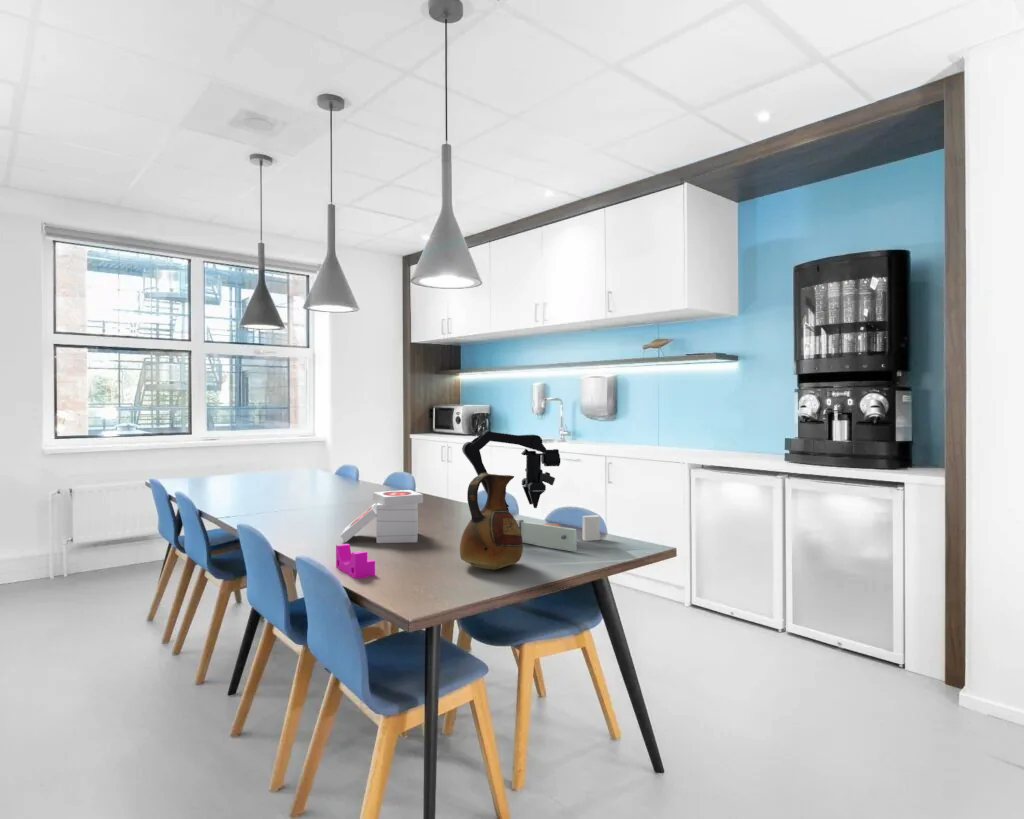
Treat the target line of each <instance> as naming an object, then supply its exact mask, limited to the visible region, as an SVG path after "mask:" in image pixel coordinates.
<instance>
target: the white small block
mask: <svg viewBox="0 0 1024 819" xmlns="http://www.w3.org/2000/svg"><path fill="white" fill-rule="evenodd" d="M514 519H515V520H516V522H517V523H518V526H519V520H520V519H518V518H515V517H514ZM582 540H583V541H584V542H585V541H586V542H587V541H588V542H589V541H590V542H591V541H601V516H600V515H598V514H596V515H595V514H593V515H591V514H590V515H582Z"/></svg>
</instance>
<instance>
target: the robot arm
mask: <svg viewBox="0 0 1024 819" xmlns="http://www.w3.org/2000/svg"><path fill="white" fill-rule="evenodd" d="M490 442H496V443H502V444H511V445H516V446H517V445H518V446H520V447H524V448H525V449H524V450H523V451H522V452H521V455H522V456H526V458H525V459H526V460H525V461H526V462H525V464H526V467H525V469H524V470H525V477H523V479H521V486H522V488H523V491H524V494H525V496H526V498H527V502H528V504H529V505H532V506H533V508H534V509H537V508H538V504H539V502H540V497H541V495H542V494H544V493H545V491H546V489H547V487H546V486H547V485H546V484H545V483H547V484H549V485H550V486H554V484H555V481H556V477H554V476H551V473H550V472H548V471H545V472H543V470H542V465H543V466H544V467H560V465H561V455H560V451H559V449H558V448H553V449H547V448H546V447H545V445H544V444H543V439H542V437H541V436H539V435H538V434H519V435H518V434H517V435H516V434H510V433H504V432H503V433H502V432H494V431H491V430H484V431H483V432H482V433H481V434H480V435H478V436H477V437H476V438H474V439H472V440H471V441H467V442H465V443H464V444H463V445H462V448H461V451H462V454H463V455H464V456H465V458H466V459H467V460H468V461H469V462H470V464H471V465H472V467H473V469H474V471H475V473H476V475H477V476H478V475H480V474H481V473H487V474H489V473H488V472H487V469H486V467H485V465H484V463H483V459H482V458H483V457H482V454H481V449H483V448H484V447H485V446H486V445H487V444H488V443H490ZM528 449H531V450H528ZM539 452H540V453H539ZM541 464H542V465H541ZM480 484H481V485H482V487H483V489H484V491H485V493H486V495H487V496H488V488H487V483H486V481H485V480H483V481H482V482H481V483H480ZM505 504H506V509H507V511H508V512H509V513H510V510H509V507H510V506H509V505H508V503H507V501H506V499H505Z"/></svg>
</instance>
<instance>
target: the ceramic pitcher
mask: <svg viewBox="0 0 1024 819" xmlns="http://www.w3.org/2000/svg"><path fill="white" fill-rule="evenodd" d="M487 473H488V472H487ZM487 473H481V474H480V475H477V476H475V477H474V478H473V479H472V480H471V481H470V483H469V484H468V487H467V494H466V495H467V496H466V497H467V503H468V508H469V511H470V515H471V519H470V520H469V521H468V523H467V525H466V526H465V528H464V530H463V533H462V536H461V539H460V543H459V556H460V559H461V560H462V561H464V562H465V563H467V564H469V565H470V566H473V567H475V568H480V569H484V570H485V569H486V570H494V571H496V570H500V569H502V568H504V567H509V566H511V565H514V564H517V563H518V562H519V561H520V560H521V559H522V556H523V548H524V543H523V542H522V535H521V531H520V528H519V526H518V523H517V522H516V520H515V519H514V518H515V517H514V516H513V514H512V513H511V512H510V511H509V512H508V511H507V509H506V504H505V500H506V495H507V485H508V484H509V483H510V482H511V480H513V479H514V478H515V475H511V474H509V475H508V474H496V473H488V474H487ZM483 480H485V481H486V483H487V488H488V496H487V497H486V502H485V504H484V507H483V508H482V509H481V510H480V507H479V501H478V492H479V488H480V484H482V483H481V482H482V481H483Z"/></svg>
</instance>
